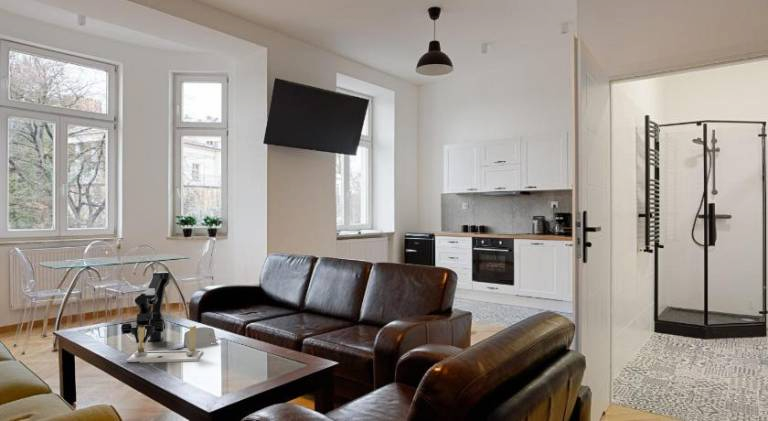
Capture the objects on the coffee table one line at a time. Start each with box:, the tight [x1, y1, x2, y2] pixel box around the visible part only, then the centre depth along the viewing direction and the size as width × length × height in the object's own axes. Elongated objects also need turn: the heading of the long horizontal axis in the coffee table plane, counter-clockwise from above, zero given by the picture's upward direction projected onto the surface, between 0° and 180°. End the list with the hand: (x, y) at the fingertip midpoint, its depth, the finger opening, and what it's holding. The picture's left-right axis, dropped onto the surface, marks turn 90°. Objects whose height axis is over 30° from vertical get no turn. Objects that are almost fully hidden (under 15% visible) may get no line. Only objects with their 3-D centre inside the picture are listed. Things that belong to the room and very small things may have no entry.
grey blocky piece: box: [183, 326, 218, 349], centre depth 254 cm, size 17×5×10 cm, turn 127°
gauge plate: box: [126, 325, 204, 363], centre depth 230 cm, size 14×32×15 cm, turn 100°
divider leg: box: [134, 326, 148, 357], centre depth 227 cm, size 7×4×14 cm
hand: (140, 342), depth 227 cm, fingers closed on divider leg, 3 cm apart
